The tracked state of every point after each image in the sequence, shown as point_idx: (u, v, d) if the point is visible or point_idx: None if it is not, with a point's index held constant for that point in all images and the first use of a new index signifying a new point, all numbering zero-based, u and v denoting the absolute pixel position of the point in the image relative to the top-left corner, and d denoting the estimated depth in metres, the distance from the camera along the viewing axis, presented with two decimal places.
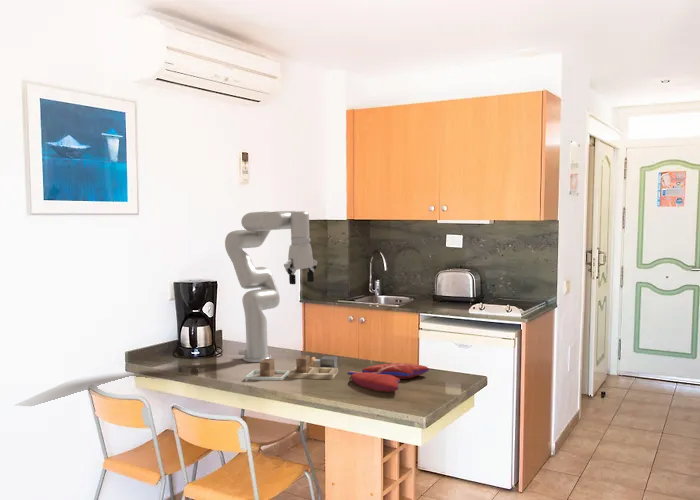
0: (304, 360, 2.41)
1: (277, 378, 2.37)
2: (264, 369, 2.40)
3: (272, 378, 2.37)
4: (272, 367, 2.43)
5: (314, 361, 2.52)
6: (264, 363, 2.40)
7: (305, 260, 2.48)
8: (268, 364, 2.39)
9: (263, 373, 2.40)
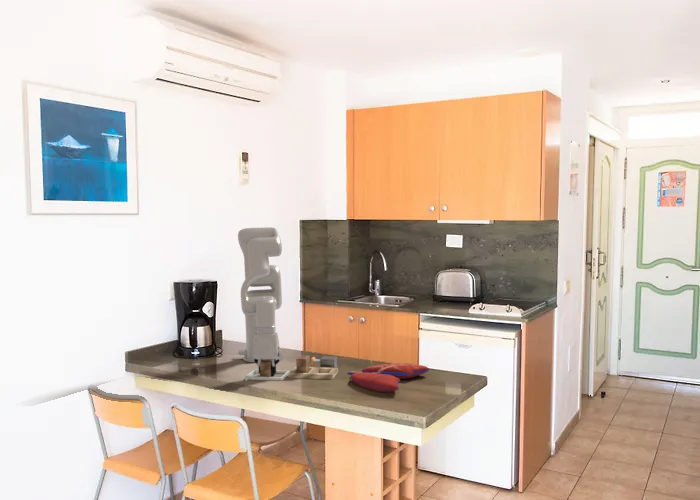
0: (304, 360, 2.41)
1: (277, 378, 2.37)
2: (264, 369, 2.40)
3: (272, 378, 2.37)
4: None
5: (314, 361, 2.52)
6: (264, 363, 2.40)
7: None
8: (268, 364, 2.39)
9: (263, 373, 2.40)
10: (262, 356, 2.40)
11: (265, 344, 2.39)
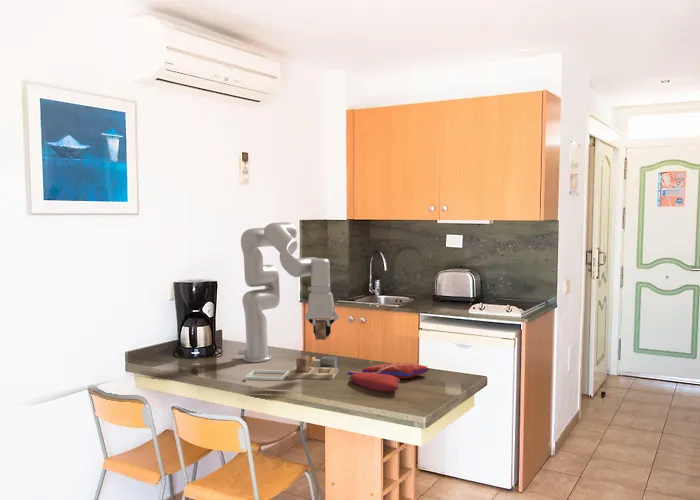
0: (304, 360, 2.41)
1: (277, 378, 2.37)
2: (319, 329, 2.38)
3: (272, 378, 2.37)
4: None
5: (314, 361, 2.52)
6: (319, 323, 2.38)
7: None
8: (323, 323, 2.38)
9: (318, 333, 2.39)
10: (317, 316, 2.38)
11: (321, 303, 2.38)
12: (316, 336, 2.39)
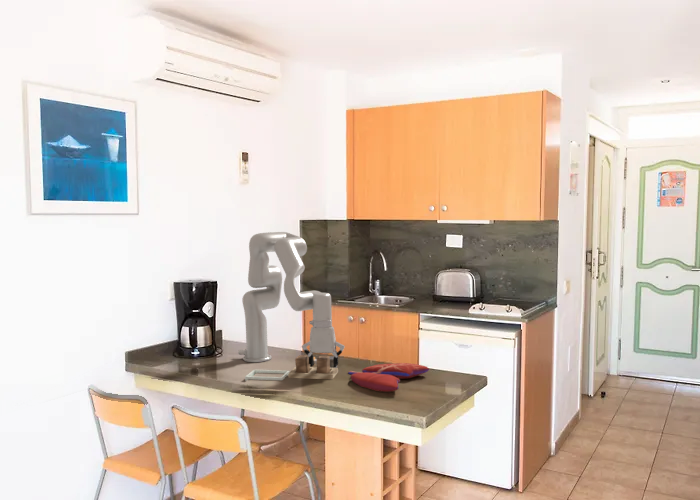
0: (303, 359, 2.41)
1: (277, 378, 2.37)
2: (321, 366, 2.40)
3: (272, 378, 2.37)
4: (328, 364, 2.43)
5: (314, 361, 2.52)
6: (321, 360, 2.39)
7: None
8: (325, 361, 2.39)
9: (319, 370, 2.40)
10: (319, 350, 2.39)
11: (322, 338, 2.39)
12: None
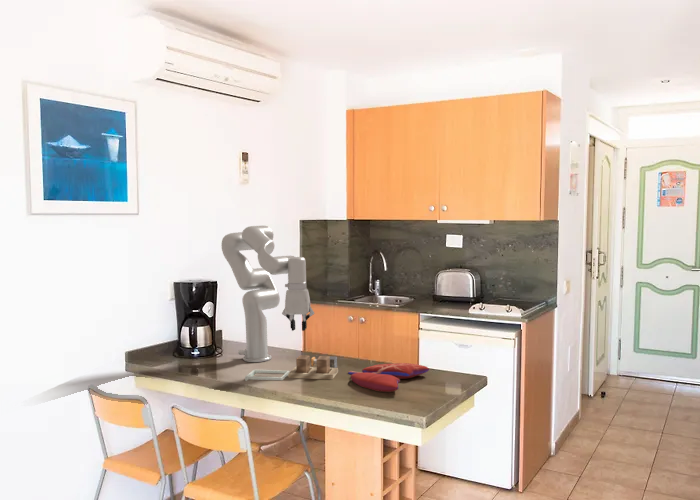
0: (304, 360, 2.41)
1: (277, 378, 2.37)
2: (321, 366, 2.40)
3: (272, 378, 2.37)
4: (328, 364, 2.43)
5: (314, 361, 2.52)
6: (321, 360, 2.39)
7: None
8: (325, 361, 2.39)
9: (319, 370, 2.40)
10: (294, 311, 2.51)
11: (297, 300, 2.50)
12: None
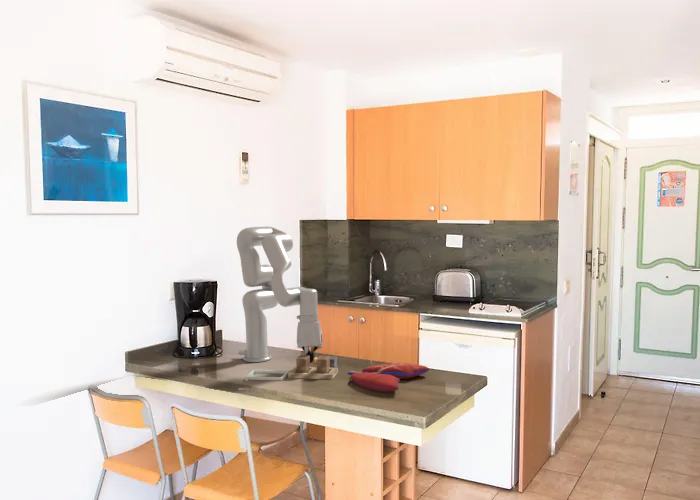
0: (304, 360, 2.41)
1: (277, 378, 2.37)
2: (321, 366, 2.40)
3: (272, 378, 2.37)
4: (328, 364, 2.43)
5: (316, 361, 2.52)
6: (321, 360, 2.39)
7: None
8: (325, 361, 2.39)
9: (319, 370, 2.40)
10: (306, 343, 2.51)
11: (309, 332, 2.50)
12: None
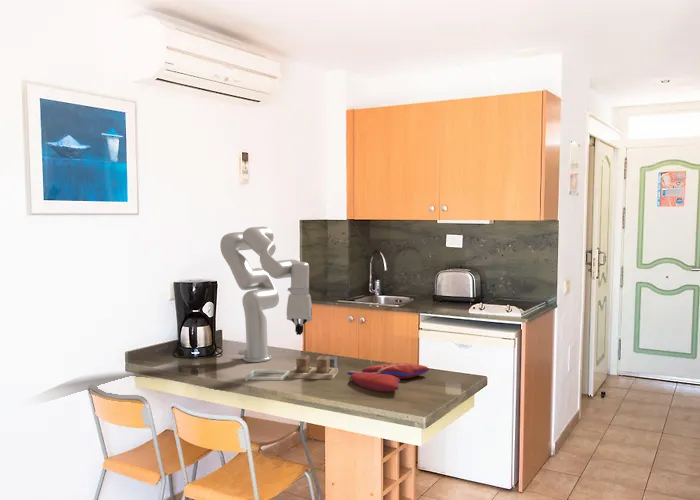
0: (304, 360, 2.41)
1: (277, 378, 2.37)
2: (321, 366, 2.40)
3: (272, 378, 2.37)
4: (328, 364, 2.43)
5: None
6: (321, 360, 2.39)
7: None
8: (325, 361, 2.39)
9: (319, 370, 2.40)
10: (295, 315, 2.53)
11: (299, 304, 2.53)
12: None
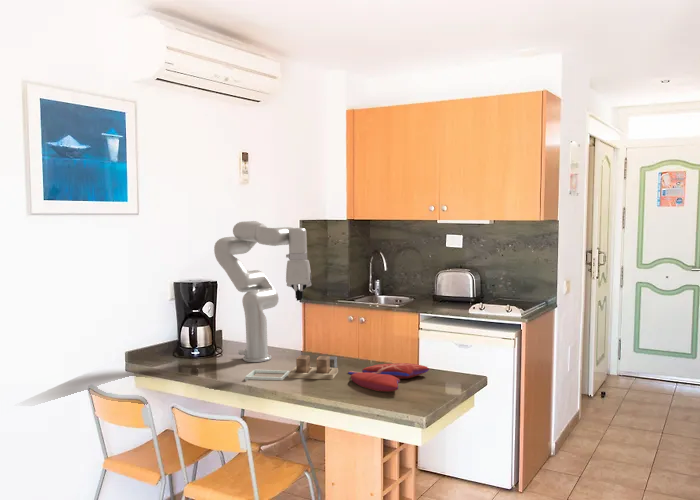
0: (304, 360, 2.41)
1: (277, 378, 2.37)
2: (321, 366, 2.40)
3: (272, 378, 2.37)
4: (328, 364, 2.43)
5: None
6: (321, 360, 2.39)
7: None
8: (325, 361, 2.39)
9: (319, 370, 2.40)
10: (295, 281, 2.54)
11: (298, 270, 2.54)
12: None
